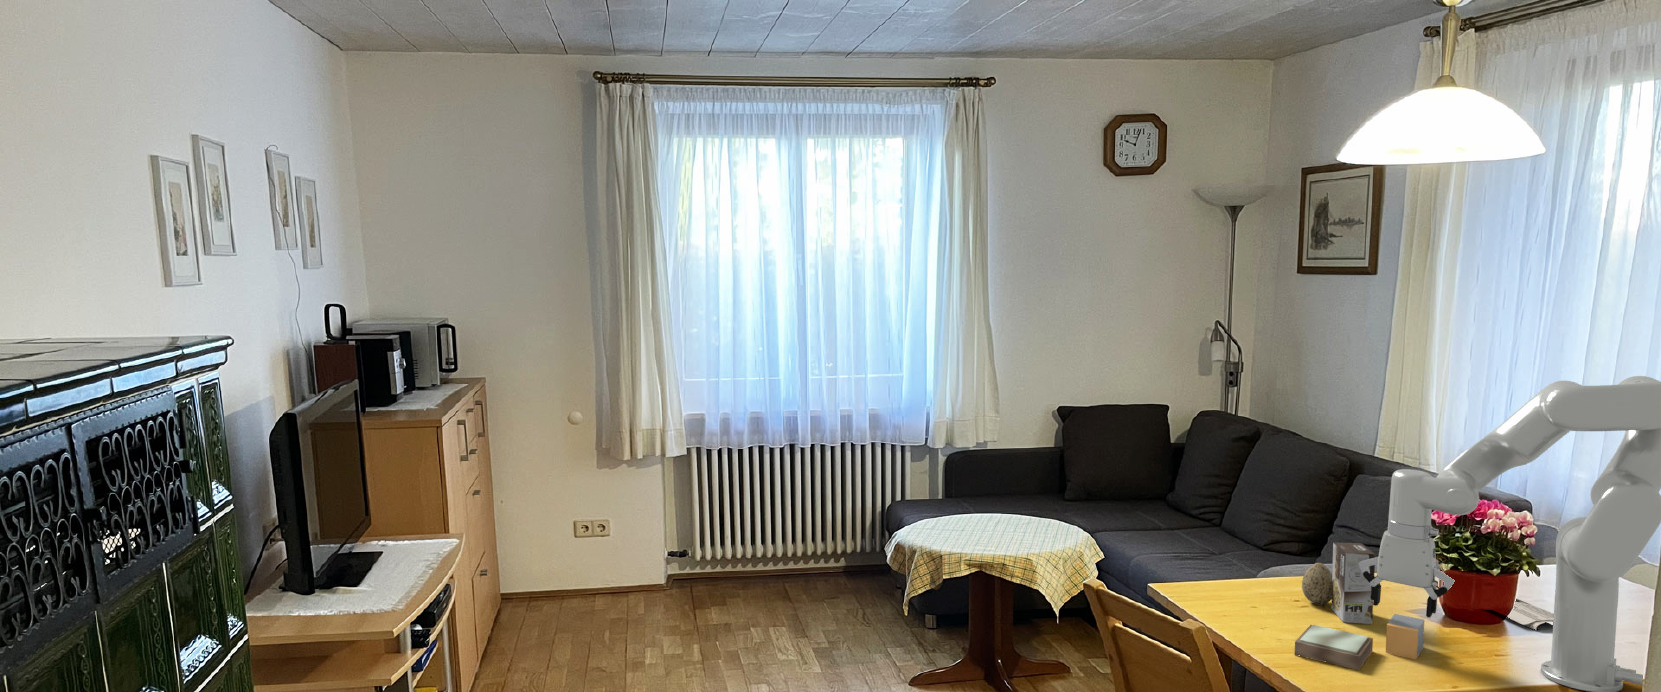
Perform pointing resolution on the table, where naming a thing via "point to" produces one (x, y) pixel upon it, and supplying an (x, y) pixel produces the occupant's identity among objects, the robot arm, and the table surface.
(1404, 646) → the block
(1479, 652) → the table surface
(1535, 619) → the newspaper
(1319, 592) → the decorative egg
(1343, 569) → the coffee box
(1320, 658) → the stand
